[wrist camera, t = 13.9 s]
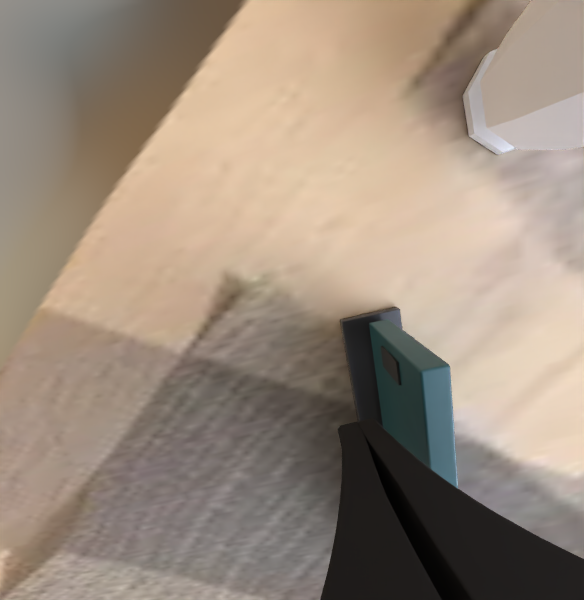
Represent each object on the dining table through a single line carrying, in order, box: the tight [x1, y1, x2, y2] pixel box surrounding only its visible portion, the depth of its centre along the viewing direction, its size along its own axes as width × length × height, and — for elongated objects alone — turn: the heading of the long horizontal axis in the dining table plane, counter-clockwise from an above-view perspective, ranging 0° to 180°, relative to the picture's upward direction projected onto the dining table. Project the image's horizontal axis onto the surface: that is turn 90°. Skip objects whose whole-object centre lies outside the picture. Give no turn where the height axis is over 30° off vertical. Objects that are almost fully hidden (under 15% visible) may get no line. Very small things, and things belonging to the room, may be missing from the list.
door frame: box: [340, 307, 402, 427], centre depth 12 cm, size 16×4×10 cm, turn 12°
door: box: [369, 319, 458, 488], centre depth 13 cm, size 12×1×5 cm, turn 11°
